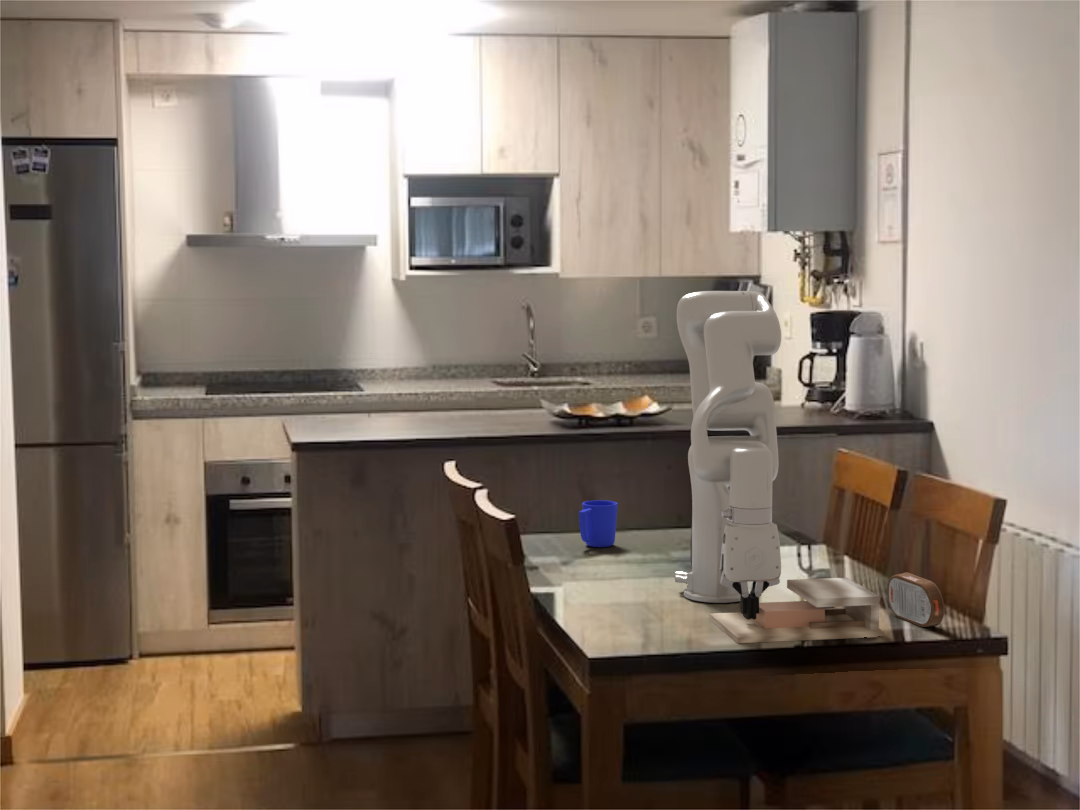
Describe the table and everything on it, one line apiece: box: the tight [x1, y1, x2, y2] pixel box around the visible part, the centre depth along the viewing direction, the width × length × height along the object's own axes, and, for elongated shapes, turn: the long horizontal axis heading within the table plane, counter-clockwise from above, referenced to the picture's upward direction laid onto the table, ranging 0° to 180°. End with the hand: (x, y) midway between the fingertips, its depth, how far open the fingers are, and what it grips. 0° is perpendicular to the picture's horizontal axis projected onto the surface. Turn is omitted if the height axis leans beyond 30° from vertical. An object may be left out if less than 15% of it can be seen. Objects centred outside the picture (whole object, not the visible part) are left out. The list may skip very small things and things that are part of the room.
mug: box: [578, 499, 618, 548], centre depth 348 cm, size 8×12×10 cm
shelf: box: [708, 577, 885, 644], centre depth 271 cm, size 26×18×7 cm
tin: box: [887, 572, 945, 628], centre depth 275 cm, size 15×3×8 cm, turn 20°
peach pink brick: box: [753, 600, 825, 628], centre depth 271 cm, size 11×7×3 cm, turn 100°
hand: (749, 617), depth 270 cm, fingers closed
